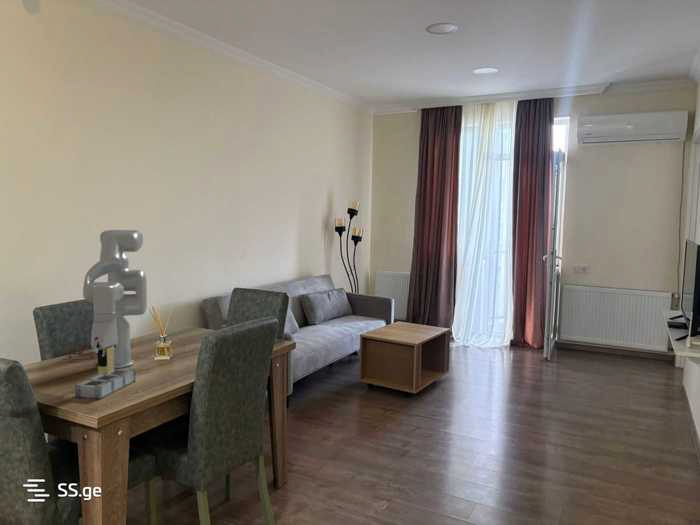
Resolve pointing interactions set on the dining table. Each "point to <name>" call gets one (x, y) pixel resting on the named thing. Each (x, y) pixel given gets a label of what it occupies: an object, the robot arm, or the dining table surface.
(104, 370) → the peg
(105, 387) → the grey compartment tray
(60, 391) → the dining table surface
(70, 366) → the dining table surface
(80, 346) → the glasses
